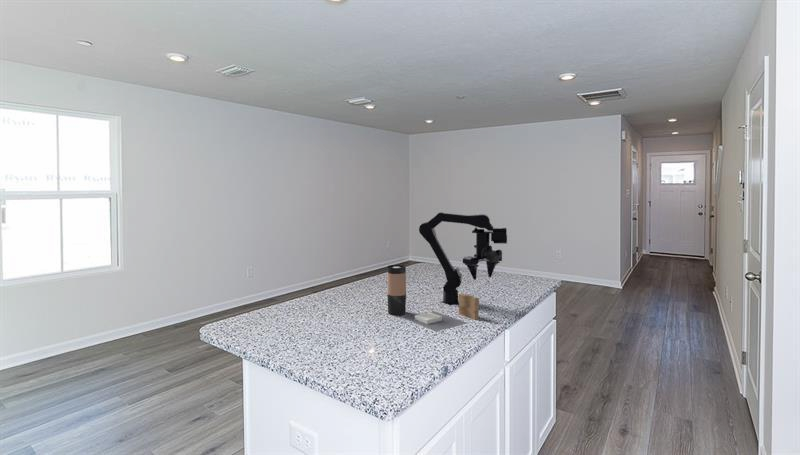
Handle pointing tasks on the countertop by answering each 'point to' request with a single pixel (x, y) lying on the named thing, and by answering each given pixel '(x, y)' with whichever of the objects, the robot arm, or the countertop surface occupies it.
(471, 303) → the flat wooden plank
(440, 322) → the mat
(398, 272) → the travel mug
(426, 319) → the tile
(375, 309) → the countertop surface
